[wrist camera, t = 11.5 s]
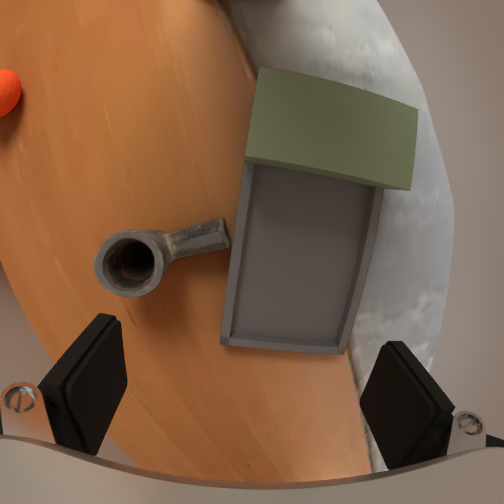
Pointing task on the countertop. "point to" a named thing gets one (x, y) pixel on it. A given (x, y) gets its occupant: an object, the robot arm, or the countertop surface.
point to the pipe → (152, 255)
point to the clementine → (9, 91)
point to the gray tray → (311, 209)
